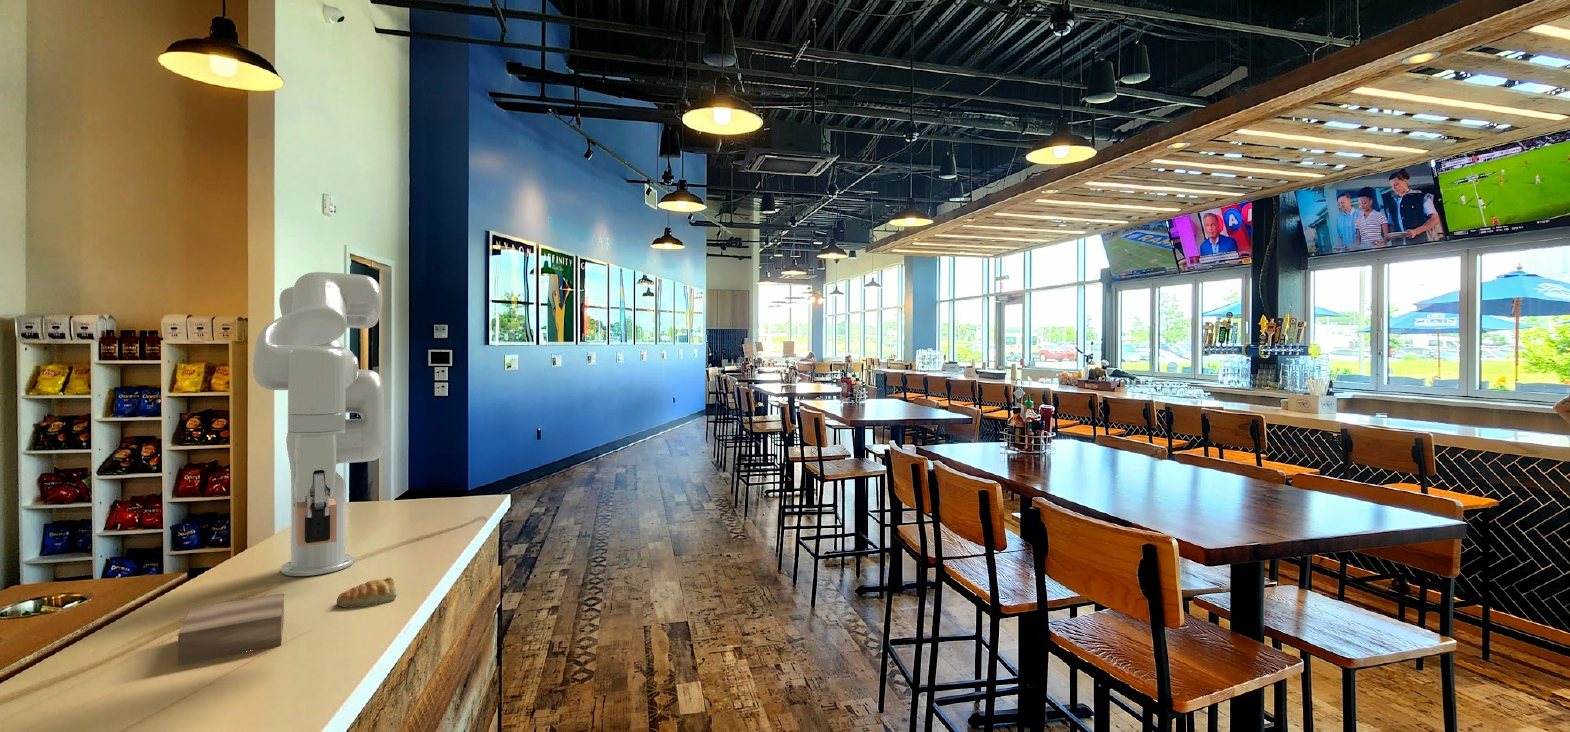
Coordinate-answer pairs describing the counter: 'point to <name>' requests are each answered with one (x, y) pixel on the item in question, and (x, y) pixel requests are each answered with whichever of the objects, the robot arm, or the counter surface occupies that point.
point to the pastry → (369, 593)
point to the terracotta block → (300, 523)
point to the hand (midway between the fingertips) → (316, 536)
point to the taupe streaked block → (231, 628)
